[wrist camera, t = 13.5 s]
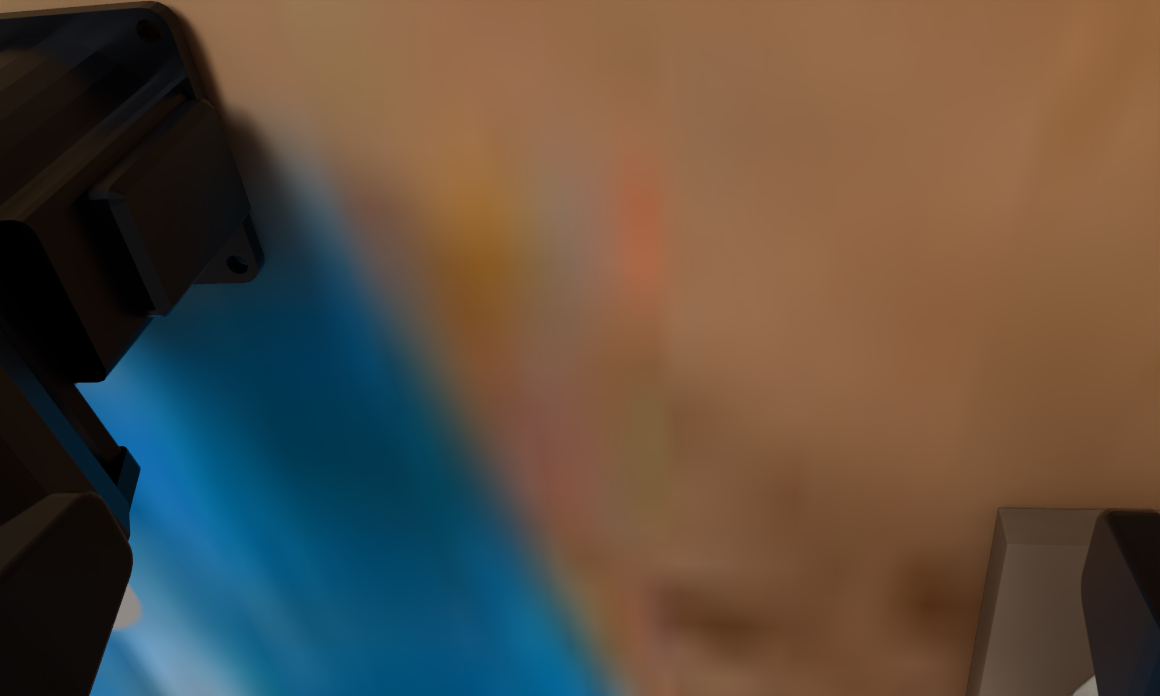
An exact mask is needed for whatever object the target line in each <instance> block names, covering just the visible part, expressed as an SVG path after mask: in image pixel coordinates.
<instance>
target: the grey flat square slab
mask: <svg viewBox="0 0 1160 696" xmlns="http://www.w3.org/2000/svg"><path fill="white" fill-rule="evenodd" d="M1102 511H1103V510H1085V509H1019V508H998V514H997V519H996V525H995V531H994V537H993V542H992V548H991V554H990V560H989V565H988V571H987V577H986V583H985V588H984V594H983V600H982V606H981V611H980V617H979V623H978V629H977V634H976V640H975V646H974V652H973V657H972V663H971V669H970V675H969V680H968V686H967V692H966V696H1098V691H1097V685H1096V679H1095V674H1094V668H1093V663H1092V657H1091V652H1090V646H1089V641H1088V635H1087V630H1086V624H1085V619H1084V613H1083V608H1082V601H1081V577H1082V572H1083V568H1084V564H1085V560H1086V556H1087V552H1088V548H1089V545H1090V541H1091V537H1092V533H1093V529H1094V525H1095V522H1096V519H1097V517H1098V515H1099V514H1100V513H1101V512H1102ZM1158 512H1160V511H1158Z"/></svg>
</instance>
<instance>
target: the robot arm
mask: <svg viewBox="0 0 1160 696" xmlns="http://www.w3.org/2000/svg"><path fill="white" fill-rule="evenodd" d="M146 20H148V21H151V22H153V23H154V24H155V25H157V27H158V29H159V30H160V33H161V37H156V36H155V35H153V34H152V33H150V31H149V30H148V28H147V26H146ZM249 211H250V203H249V201H248V198H247V195H246V192H245V189H244V187H243V184H242V181H241V178H240V176H239V173H238V170H237V167H236V164H235V162H234V159H233V156H232V153H231V150H230V148H229V145H228V142H227V139H226V136H225V134H224V131H223V128H222V125H221V122H220V120H219V117H218V114H217V111H216V109H215V108H214V107H213V106H212V105H211V104H210V103H209V102H208V99H207V96H206V94H205V91H204V88H203V85H202V82H201V80H200V77H199V74H198V71H197V69H196V66H195V63H194V60H193V57H192V55H191V52H190V49H189V46H188V44H187V41H186V38H185V35H184V32H183V30H182V27H181V24H180V22H179V20H178V18H177V17H176V15H175V14H174V13H173V12H172V11H171V10H170V9H169V8H168V7H167V6H165V5H163V4H161V3H159V2H155V1H140V2H128V3H116V4H105V5H93V6H81V7H69V8H57V9H45V10H34V11H22V12H10V13H0V696H89V695H90V692H91V690H92V687H93V684H94V681H95V678H96V675H97V672H98V669H99V666H100V663H101V660H102V657H103V654H104V652H105V649H106V646H107V643H108V640H109V637H110V634H111V631H112V628H113V625H114V622H115V619H116V616H117V613H118V611H119V608H120V605H121V602H122V599H123V596H124V593H125V590H126V587H127V584H128V582H129V579H130V576H131V572H132V566H133V554H132V550H131V547H130V545H129V543H128V540H129V537H130V520H129V512H130V508H131V504H132V500H133V496H134V493H135V489H136V485H137V481H138V477H139V473H140V466H139V465H138V463H137V462H136V461H135V459H134V458H133V456H132V455H131V453H130V452H129V451H128V449H127V448H126V447H125V446H118V445H117V443H116V442H115V440H114V439H113V438H112V436H111V435H110V433H109V432H108V431H107V429H106V428H105V426H104V425H103V424H102V422H101V421H100V419H99V418H98V417H97V415H96V414H95V412H94V411H93V410H92V408H91V407H90V405H89V404H88V403H87V401H86V400H85V398H84V397H83V396H82V394H81V393H80V391H79V390H78V389H77V387H76V386H75V385H76V384H77V383H91V382H101V381H104V380H105V379H106V377H107V376H108V375H109V374H110V372H111V371H112V370H113V369H114V367H115V366H116V365H117V364H118V363H119V361H120V360H121V359H122V358H123V356H124V355H125V354H126V353H127V351H128V350H129V349H130V348H131V346H132V345H133V344H134V343H135V341H136V340H137V339H138V338H139V337H140V335H141V334H142V333H143V332H144V330H145V329H146V328H147V327H148V325H149V324H150V323H151V322H152V320H153V319H154V318H155V317H165V316H167V315H168V314H170V312H171V311H172V310H173V309H174V307H175V306H176V305H177V304H178V302H179V301H180V300H181V298H182V297H183V296H184V295H185V293H186V292H187V291H188V290H189V288H190V287H191V286H192V285H193V284H217V283H245V282H250V281H252V280H253V279H254V278H256V276H257V275H258V274H259V272H260V271H261V269H262V268H263V265H264V262H265V261H264V254H263V252H262V249H261V246H260V243H259V241H258V238H257V235H256V232H255V229H254V227H253V224H252V221H251V218H250V216H249ZM234 255H235V256H239V257H241V258H242V259H244V260H245V262H246V263H247V265H245V264H241V263H240V262H238V261H237V260H236V258H235V257H234ZM1081 601H1082V608H1083V613H1084V619H1085V624H1086V630H1087V635H1088V641H1089V646H1090V652H1091V657H1092V663H1093V668H1094V674H1095V679H1096V685H1097V691H1098V696H1160V512H1158V511H1156V510H1152V509H1124V508H1109V509H1105V510H1103V511H1102V512H1101V513H1100V514H1099V515H1098V517H1097V519H1096V522H1095V525H1094V529H1093V533H1092V537H1091V541H1090V545H1089V548H1088V552H1087V556H1086V560H1085V564H1084V568H1083V572H1082V577H1081Z"/></svg>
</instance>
